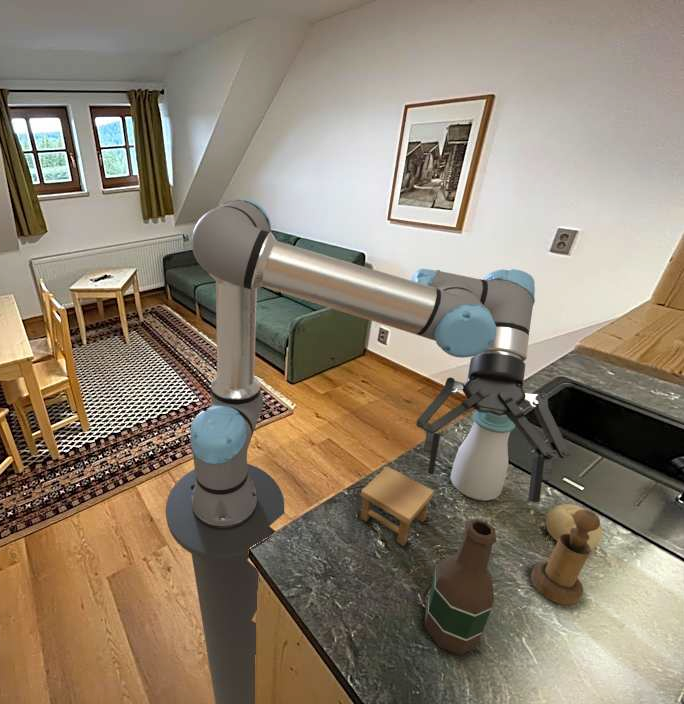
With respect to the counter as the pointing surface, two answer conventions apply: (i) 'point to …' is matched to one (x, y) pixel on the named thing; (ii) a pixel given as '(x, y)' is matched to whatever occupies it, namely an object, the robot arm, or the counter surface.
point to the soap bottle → (483, 457)
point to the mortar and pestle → (566, 562)
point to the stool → (396, 500)
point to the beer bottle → (462, 592)
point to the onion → (568, 523)
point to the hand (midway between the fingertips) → (479, 486)
